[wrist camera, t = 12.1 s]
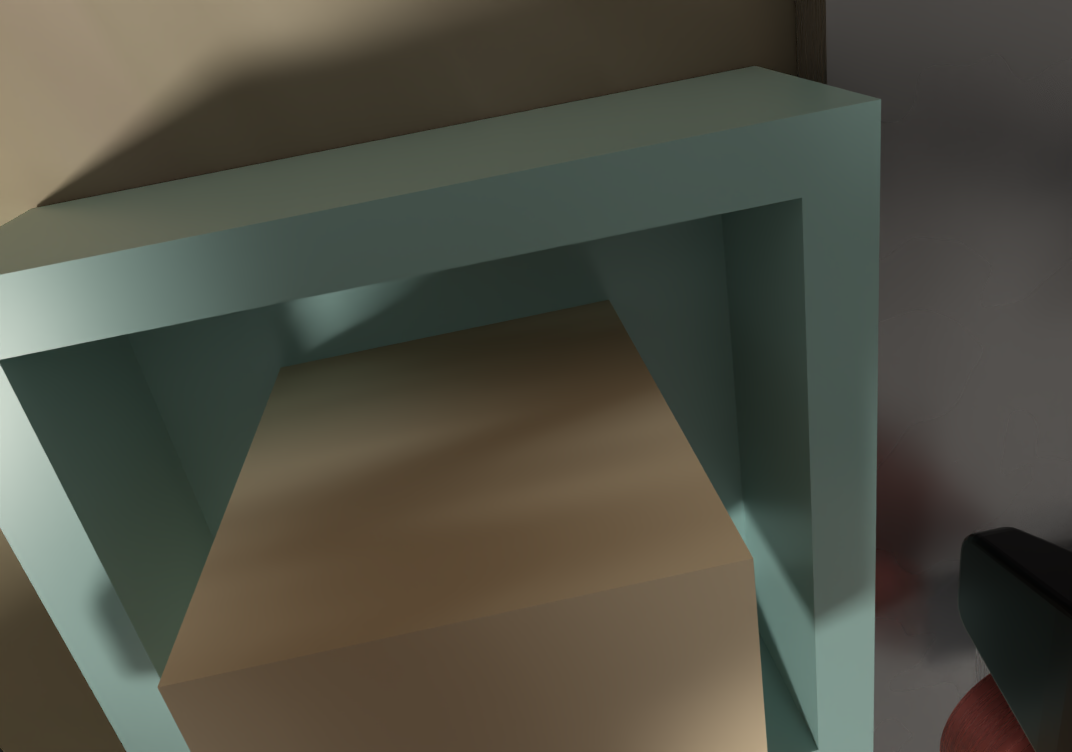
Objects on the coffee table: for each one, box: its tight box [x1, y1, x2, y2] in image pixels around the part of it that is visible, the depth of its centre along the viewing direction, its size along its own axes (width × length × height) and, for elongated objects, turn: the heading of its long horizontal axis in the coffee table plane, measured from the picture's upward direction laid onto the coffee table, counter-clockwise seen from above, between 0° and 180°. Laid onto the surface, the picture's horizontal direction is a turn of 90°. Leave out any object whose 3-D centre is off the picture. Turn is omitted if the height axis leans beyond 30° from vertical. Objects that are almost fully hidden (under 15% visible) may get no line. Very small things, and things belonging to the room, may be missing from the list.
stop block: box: [157, 300, 767, 752], centre depth 9 cm, size 4×4×5 cm
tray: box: [0, 66, 881, 752], centre depth 10 cm, size 8×8×3 cm
